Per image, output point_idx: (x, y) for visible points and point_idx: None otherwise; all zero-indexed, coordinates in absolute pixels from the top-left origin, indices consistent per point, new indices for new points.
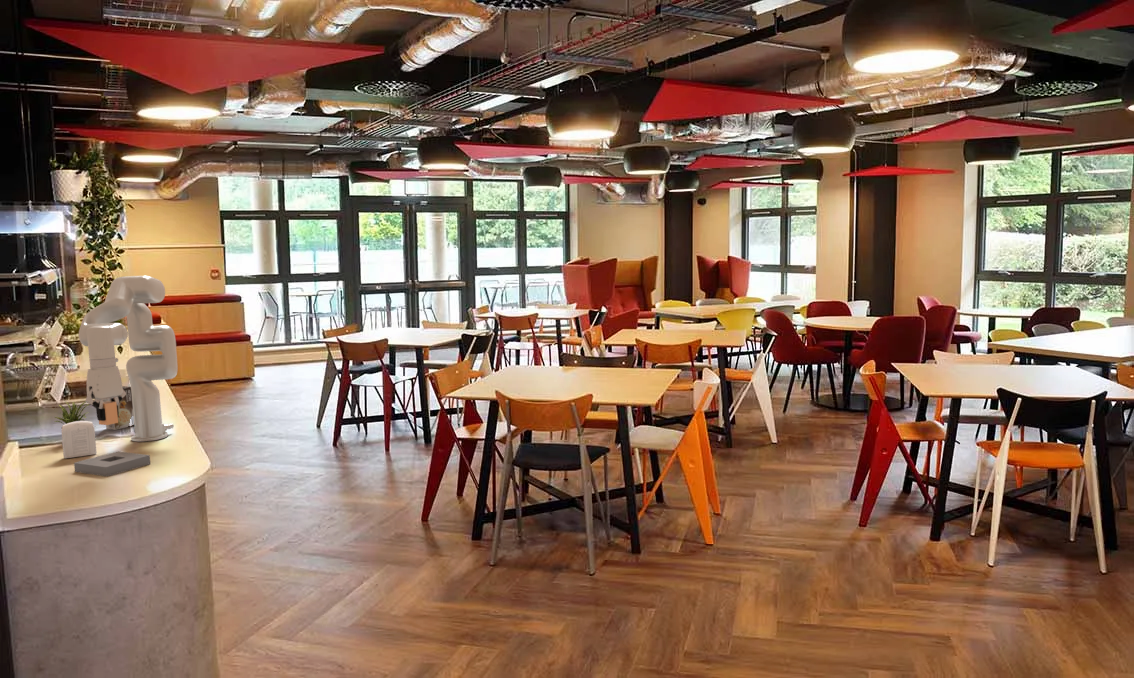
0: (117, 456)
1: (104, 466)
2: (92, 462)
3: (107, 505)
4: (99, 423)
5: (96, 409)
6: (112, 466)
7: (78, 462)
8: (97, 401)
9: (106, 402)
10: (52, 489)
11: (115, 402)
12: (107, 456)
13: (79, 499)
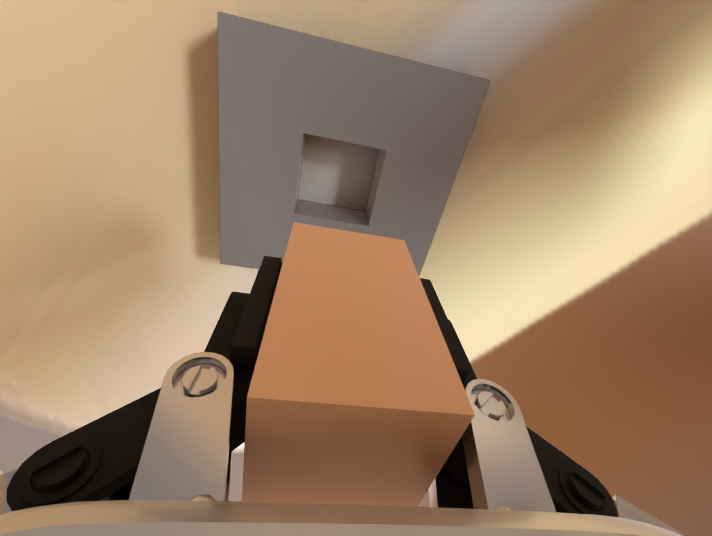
0: (383, 172)
1: (225, 249)
2: (259, 133)
3: (52, 427)
4: (292, 230)
5: (200, 363)
6: (250, 265)
7: (232, 40)
8: (192, 485)
9: (351, 462)
10: (6, 179)
11: (400, 505)
12: (378, 115)
13: (26, 348)
